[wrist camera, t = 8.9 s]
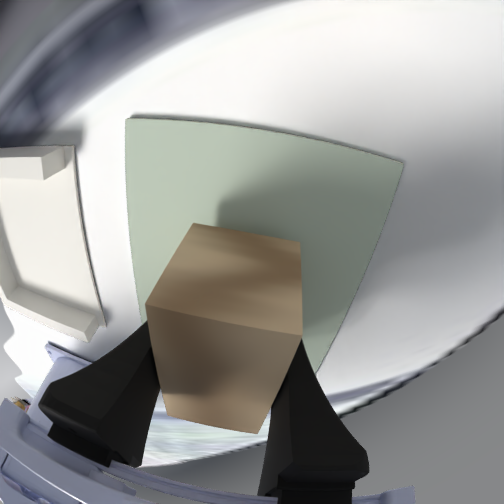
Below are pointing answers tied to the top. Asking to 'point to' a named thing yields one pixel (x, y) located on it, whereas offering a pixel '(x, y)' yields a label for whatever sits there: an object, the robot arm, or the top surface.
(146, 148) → the stand mat
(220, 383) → the oak block
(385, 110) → the top surface
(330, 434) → the robot arm
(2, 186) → the shelf slot
